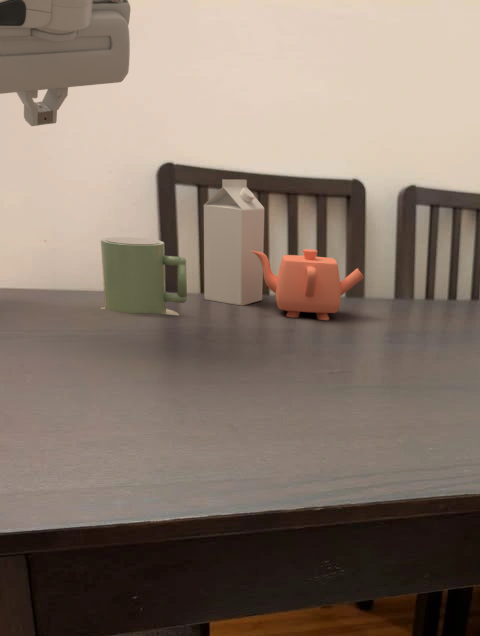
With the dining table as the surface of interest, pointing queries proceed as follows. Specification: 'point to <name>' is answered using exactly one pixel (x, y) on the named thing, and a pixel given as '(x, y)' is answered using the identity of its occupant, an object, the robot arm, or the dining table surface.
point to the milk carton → (233, 245)
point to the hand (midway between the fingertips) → (40, 122)
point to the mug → (139, 276)
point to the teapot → (308, 283)
